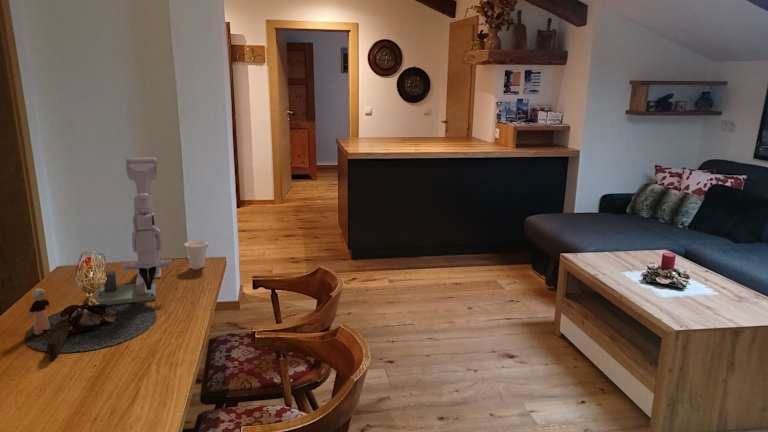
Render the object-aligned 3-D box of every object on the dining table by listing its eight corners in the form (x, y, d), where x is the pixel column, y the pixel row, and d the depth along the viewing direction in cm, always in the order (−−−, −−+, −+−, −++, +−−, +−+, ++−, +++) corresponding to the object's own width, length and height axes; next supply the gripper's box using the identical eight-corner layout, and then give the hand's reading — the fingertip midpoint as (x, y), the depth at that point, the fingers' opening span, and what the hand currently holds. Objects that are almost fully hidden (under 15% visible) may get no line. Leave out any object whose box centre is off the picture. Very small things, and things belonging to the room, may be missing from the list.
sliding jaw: (137, 284, 190) (136, 276, 189) (145, 283, 191) (144, 275, 190) (136, 294, 181) (136, 286, 180) (145, 294, 182) (144, 285, 181)
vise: (91, 292, 186) (90, 279, 185) (155, 286, 194) (154, 273, 193) (87, 306, 175) (86, 292, 174) (155, 299, 182) (155, 285, 181)
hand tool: (57, 332, 158) (56, 317, 156) (73, 331, 159) (71, 316, 158) (39, 364, 140) (36, 347, 139) (57, 362, 141) (54, 345, 140)
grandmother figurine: (41, 336, 154) (36, 293, 151) (27, 335, 154) (22, 293, 151) (57, 324, 162) (53, 283, 159) (44, 324, 162) (39, 283, 159)
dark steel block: (105, 288, 186) (104, 271, 185) (117, 287, 188) (115, 270, 186) (104, 292, 183) (103, 275, 181) (116, 291, 184) (115, 274, 183)
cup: (184, 264, 217) (183, 240, 215) (209, 263, 220) (208, 239, 218) (183, 272, 209) (182, 246, 207) (209, 270, 212) (208, 245, 209)
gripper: (121, 255, 175) (124, 295, 178) (170, 251, 180) (172, 290, 183) (122, 249, 181) (125, 288, 184) (169, 245, 186) (171, 283, 190)
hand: (149, 288), depth 184 cm, fingers closed
